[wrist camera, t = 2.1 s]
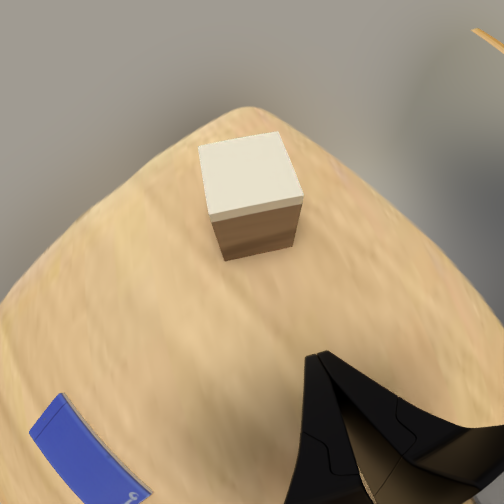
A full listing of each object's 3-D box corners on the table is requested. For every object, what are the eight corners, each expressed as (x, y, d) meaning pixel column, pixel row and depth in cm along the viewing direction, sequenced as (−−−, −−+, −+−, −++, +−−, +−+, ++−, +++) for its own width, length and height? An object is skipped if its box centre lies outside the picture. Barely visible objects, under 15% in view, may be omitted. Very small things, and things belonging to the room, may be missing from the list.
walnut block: (292, 246, 25) (304, 195, 17) (224, 261, 24) (208, 214, 17) (274, 191, 27) (278, 131, 20) (213, 203, 27) (197, 146, 19)
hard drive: (150, 495, 15) (58, 392, 19) (106, 526, 13) (26, 433, 16) (156, 489, 17) (68, 392, 20) (112, 520, 14) (36, 432, 18)
